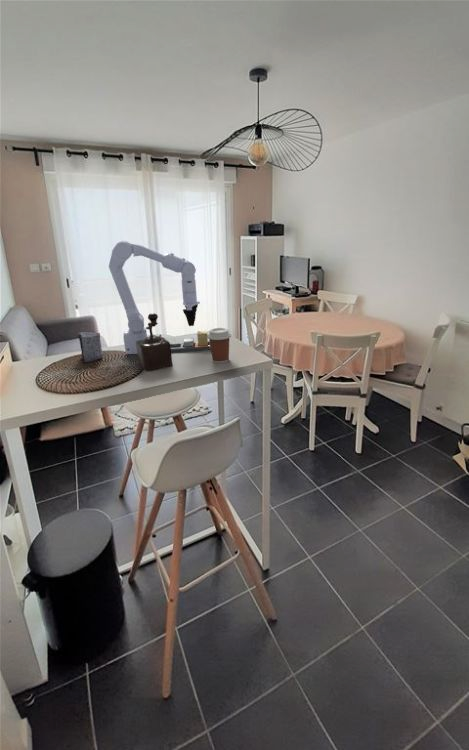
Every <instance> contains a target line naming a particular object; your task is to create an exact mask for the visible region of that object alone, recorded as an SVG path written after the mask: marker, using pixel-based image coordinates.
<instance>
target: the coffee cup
mask: <svg viewBox="0 0 469 750" xmlns="http://www.w3.org/2000/svg"><path fill="white" fill-rule="evenodd" d="M231 337H232V333H231V332H230V331H229V329H228V328H226V327H216V328H215V327H214V328H211V329H210V330H209V332H208V333H207V338H208V341H210V348H211V350H210V353H211V360H212V362H213V363H215V364H224V363H227V362H229V361H230V360H229V359H230V357H229V356H230V339H231Z"/></svg>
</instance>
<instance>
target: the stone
mask: <svg viewBox="0 0 469 750" xmlns="http://www.w3.org/2000/svg"><path fill="white" fill-rule="evenodd" d="M77 335H78V340H79V345H80V351H81V358H82V359H81V360H82V362H83V363H90V362H93V361H97V360H99V359H103V358H104V356H105V354H104V352H103V349H102V343H101V342H102V341H101V333H100V332H91V331H89V332H86V331H80V332H78V333H77Z"/></svg>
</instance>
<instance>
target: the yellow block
mask: <svg viewBox="0 0 469 750" xmlns="http://www.w3.org/2000/svg"><path fill="white" fill-rule="evenodd" d="M196 334H197V342H198V346H208V341H209V339H208V338H207V335H208V331H207V330H197V333H196Z"/></svg>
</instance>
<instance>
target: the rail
mask: <svg viewBox="0 0 469 750" xmlns="http://www.w3.org/2000/svg"><path fill="white" fill-rule="evenodd" d="M208 345H210V341H209V340H208ZM170 348H171V353H181V352H183V353H184V352H185V353H186V352H199V351H201V352H202V351H211V348H210V346H198V341H194V347H184V342H181V343H179V342H177V343H176V342H175V343H170Z"/></svg>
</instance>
